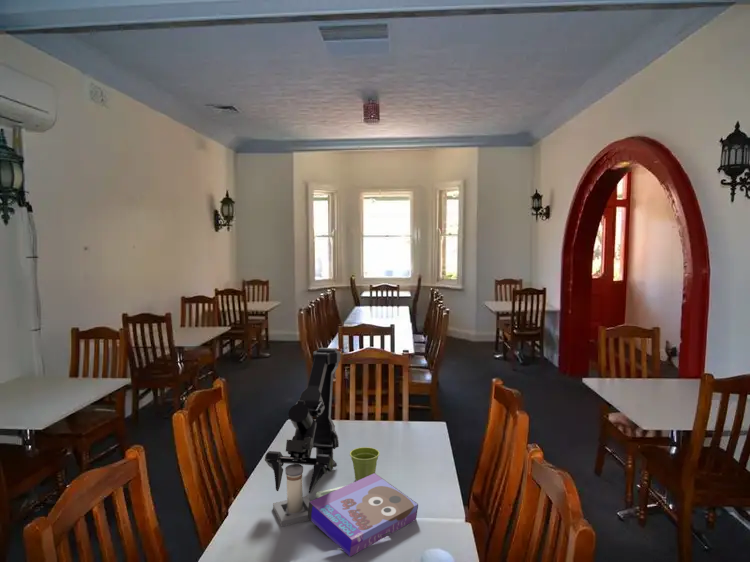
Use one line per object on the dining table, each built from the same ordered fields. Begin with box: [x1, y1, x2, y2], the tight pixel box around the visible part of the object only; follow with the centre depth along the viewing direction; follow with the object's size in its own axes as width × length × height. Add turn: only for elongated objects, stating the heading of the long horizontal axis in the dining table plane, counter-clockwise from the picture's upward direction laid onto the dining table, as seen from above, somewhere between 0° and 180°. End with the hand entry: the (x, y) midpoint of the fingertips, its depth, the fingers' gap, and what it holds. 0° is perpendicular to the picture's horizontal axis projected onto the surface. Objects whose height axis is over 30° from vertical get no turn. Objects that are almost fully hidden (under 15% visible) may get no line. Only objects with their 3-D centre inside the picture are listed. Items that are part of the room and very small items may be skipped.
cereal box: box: [308, 472, 419, 557], centre depth 141 cm, size 17×5×24 cm
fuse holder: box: [272, 495, 311, 527], centre depth 146 cm, size 10×10×2 cm
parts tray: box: [315, 485, 345, 499], centre depth 152 cm, size 10×10×2 cm
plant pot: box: [349, 446, 380, 482], centre depth 167 cm, size 9×9×9 cm
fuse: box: [284, 464, 304, 516], centre depth 145 cm, size 5×5×13 cm
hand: (293, 491), depth 144 cm, fingers open, 9 cm apart
